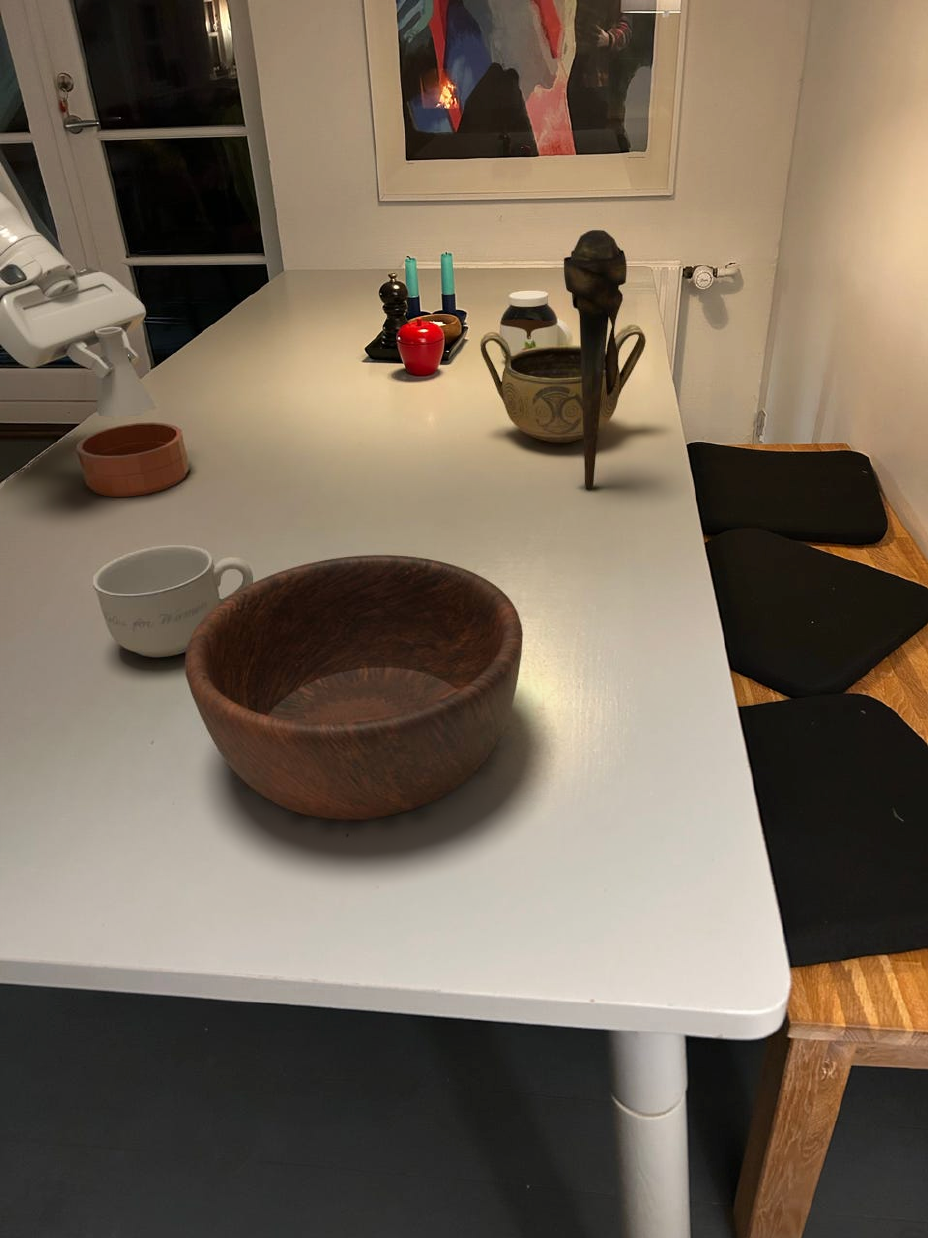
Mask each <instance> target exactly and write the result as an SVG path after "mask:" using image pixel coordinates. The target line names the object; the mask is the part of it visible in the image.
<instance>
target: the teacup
mask: <svg viewBox="0 0 928 1238" xmlns="http://www.w3.org/2000/svg"><path fill="white" fill-rule="evenodd" d="M228 570H236V571H238V572H240V574H241V575H242V582H241V584H240V585H239V586H238V587H237V589H236V590H234V591H233V592H232V593H231V594H229V595H227V596H225V597H224V598H220V593H219V592H220V591H219V587H220V586H221V583H222V577H223V574H224V573H226V571H228ZM252 583H254V573H253V571H252V568H251V567H250V565H249V563H247V562H246V561H245V560H244V559H242V558H239V557H235V556H230V557H225V558H222V559H221V560H220V561H218V562H217V563H215V564H214V559H213V556H212V554H210V552H208V550H206V549H205V548H202V547H199V546H195V545H194V546H193V545H183V544H174V545H173V544H169V545H158V546H153V547H148V548H143V549H139V550H137V551H134V552H129V553H127V554H123V555H121V556H119V557H117V558H115V559H113V560H111V561H109V562H108V563H106V564H105V565H102V567H100V568H99V570H97V572H96V573H95V574H94V575H93V577H92V587H93V589H94V591H95V592H96V594H97V598H98V602H99V606H100V609H101V612H102V615H103V618H104V621H105V625H106V627H107V629H108V631H109V633H110V636H111V637H112V638H113V640H114V641H115V642H116V643H117V644H118V645H120V646H121V647H122V648H124V649H125V650H128V651H130V652H135V653H137V654H139V655H141V656H144V657H149V658H167V657H172V656H177V655H181V654H184V653H186V650H187V647H188V643H189V641H190V639H191V637H192V634H193V633H194V631H195V630H196V628H197V627H198V625H199V624H200V623H201V622H202V620H203V619H204V618H205V617H206V616H207V615H208V614H209V613H210V612H211V611H212V610H213V609H214V608H215V607H217V606H218V605H219V604H220V603H222V602H223V601H224V600H226V599H227V598H229V597H230V596H231V595H233V594H234V593H236V592H238V591H239V590H241V589H243V588H245V587H246V586H248V585H250V584H252Z"/></svg>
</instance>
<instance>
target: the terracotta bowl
mask: <svg viewBox="0 0 928 1238" xmlns="http://www.w3.org/2000/svg"><path fill="white" fill-rule="evenodd" d="M76 452H77V456H78V459H79V463H80V466H81V471H82V474H83V478H84V482H85V484H86V486H87V487H88V488H89V489H90V490H91V491H93V493H95V494H98V495H101V496H105V497H113V498H114V497H117V498H121V497H122V498H128V497H134V496H136V497H138V496H143V495H149V494H152V493H156V492H160V491H162V490H166V489H168V488H171V487H173V486H175V485H177V484H179V483H180V482H182V481H183V480H184V479H185V478H186V477H187V476H188V471H189V470H190V465H189V460H188V454H187V450H186V445H185V440H184V435H183V431H182V429H181V428H180V427H178V426H176V425H173V424H169V423H163V422H162V423H161V422H135V423H129V424H121V425H117V426H112V427H109V428H105V429H102V430H99V431H96V432H94V433H92V434H89V435H88V436H85V437H84V438H82V439H81V440H80V441H79V442H78V443H77V446H76Z"/></svg>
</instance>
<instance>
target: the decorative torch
mask: <svg viewBox="0 0 928 1238" xmlns="http://www.w3.org/2000/svg"><path fill="white" fill-rule="evenodd" d="M627 266H628V265H627V258H626V255H625V251H624V250H622V249H621V248H620V247H619V246H618V244H617V242H616V240H615V238H614V237H612V235H610V233H608V232H607V231H605V230H604V229H603V230H602V229H592V230H588V231H586V232H585V233H583V234H582V235H580V236H579V238H578V241H577V242H576V245H575V246H574V248H573V249H572V250H571V251H570V256H566V257H564V258H563V277H564V283H565V288H566V291H567V292H568V293H570V294H571V301H572V306H573V308H574V309H576V310H577V312H578V315H579V341H580V345H579V346H581V376H582V405H583V435H584V438H583V460H584V462H583V463H584V486H585V489H592V488H594V483H595V471H596V470H595V468H596V467H595V466H596V460H597V459H596V458H597V447H598V436H599V430H598V427H599V416H600V406H601V395H602V384H603V373H604V363H605V352H606V366H605V373H606V389H607V396H608V395H610V393H611V392H612V390H613V389H614V386H615V382H616V378H617V372H618V366H619V355H617V348H616V342H615V337H616V336H615V327H616V321H617V317H618V313H619V311H620V308H621V306H622V303H623V301H624V298H623V295H624V294H623V293H622V292H621V290H620V289H619V287H620V286H622V285H624V284H626V282H627V269H628V267H627ZM609 321H610V324H611V328H610V330H609V331H610V332H609V336H608V327H609ZM607 339H608V340H607Z"/></svg>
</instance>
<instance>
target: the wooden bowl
mask: <svg viewBox="0 0 928 1238" xmlns="http://www.w3.org/2000/svg"><path fill="white" fill-rule="evenodd" d="M523 635H524V633H523V626H522V622H521V618H520V615H519V612H518V610H517V609H516V606H515V604H514V603H513V602H512V600H511V599H510V598H509V596H508V595H507V594H506V593H505V592H503V590H502V589H500V588H499V587H498V586H497V585H495V584H494V583H492V582H491V581H490V580H488V579H486V578H484V577H482V576H481V575H479V574H477V573H475V572H473V571H470V570H469V569H465V568H463V567H461V566H457V565H454V564H451V563H447V562H444V561H440V560H435V559H430V558H424V557H418V556H407V555H394V554H368V555H354V556H344V557H336V558H329V559H323V560H317V561H313V562H310V563H305V564H301V565H297V566H293V567H291V568H288V569H285V570H282V571H279V572H276V573H273V574H271V575H268V576H265V577H263V578H260V579H259V580H256V581H253V583H252V584H250V585H248V586H246V587H245V588H243V589H241V590H239V591H238V592H236V593H234V594H233V595H231V596H230V597H229V598H227V599H226V600H224V601H223V602H222V603H220V604H219V605H218V606H217V607H215V608H214V609H213V610H212V611H211V612H210V613H209V614H208V615H207V616H206V617H205V618H204V619H203V620H202V622H201V623H200V624H199V625H198V627H197V628H196V630H195V631H194V633H193V634H192V637H191V639H190V641H189V643H188V647H187V650H186V652H185V659H184V669H185V670H184V671H185V677H186V680H187V684H188V688H189V690H190V693H191V696H192V698H193V701H194V703H195V706H196V708H197V711H198V712H199V716H200V718H201V719H202V722H203V724H204V726H205V728H206V730H207V732H208V734H209V736H210V738H211V740H212V741H213V744H214V745H215V747H216V749H217V751H218V752H219V753H220V755H221V757H223V759H224V760H225V761H226V763H227V764H228V765H229V767H230V768H231V769H232V770H233V772H234V773H236V775H237V776H238V777H239V778H240V779H241V780H243V782H244V783H245V784H246V785H247V786H248V787H250V788H252V790H254V791H255V792H257V794H260V795H261V796H262V797H264V798H266V799H267V800H269V801H270V802H272V803H274V804H276V805H278V806H280V807H282V808H284V809H287V810H290V811H292V812H295V813H298V814H302V815H306V816H310V817H317V818H321V819H322V818H323V819H333V820H348V821H349V820H352V821H353V820H367V819H369V820H370V819H376V818H383V817H388V816H389V817H390V816H394V815H397V814H401V813H405V812H407V811H411V810H414V809H417V808H419V807H422V806H424V805H427V804H430V803H432V802H434V801H436V800H438V799H440V798H442V797H443V796H444V797H445V795H447V794H449V793H451V792H452V791H454V790H455V789H456V788H457V787H459V786H460V785H462V784H463V783H465V782H466V781H467V780H468V779H469V778H470V777H471V776H472V775H473V774H474V773H475V772H476V771H477V770H478V769H479V768H480V767H481V765H482V764H483V763H484V762H485V761H486V759H487V758H488V757H489V756H490V754H491V752H492V751H493V749H494V748H495V746H496V744H497V742H498V741H499V739H500V737H501V736H502V734H503V732H504V729H505V727H506V725H507V721H508V719H509V717H510V714H511V710H512V707H513V703H514V699H515V695H516V691H517V685H518V681H519V675H520V669H521V668H520V667H521V661H522V653H523V637H524V636H523Z"/></svg>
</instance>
